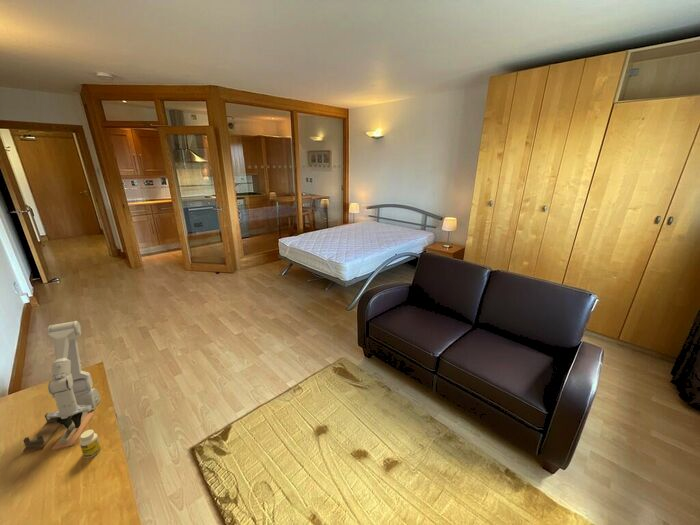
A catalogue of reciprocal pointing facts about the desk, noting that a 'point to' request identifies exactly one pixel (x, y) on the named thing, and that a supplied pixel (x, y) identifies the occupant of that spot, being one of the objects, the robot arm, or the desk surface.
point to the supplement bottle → (89, 443)
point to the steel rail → (71, 431)
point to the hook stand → (42, 435)
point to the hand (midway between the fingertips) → (74, 427)
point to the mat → (75, 433)
